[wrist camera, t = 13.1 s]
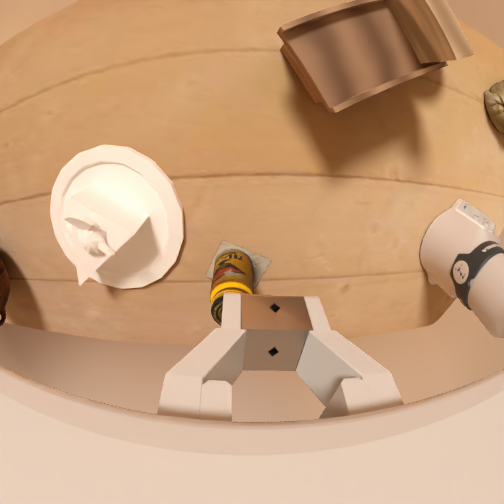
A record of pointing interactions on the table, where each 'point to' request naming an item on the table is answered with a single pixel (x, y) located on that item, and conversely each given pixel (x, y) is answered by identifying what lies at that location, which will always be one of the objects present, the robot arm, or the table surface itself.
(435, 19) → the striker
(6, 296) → the vase
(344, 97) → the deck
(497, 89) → the pastry
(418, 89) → the table surface
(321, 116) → the table surface
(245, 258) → the condiment
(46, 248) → the table surface
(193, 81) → the table surface
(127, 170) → the dish
